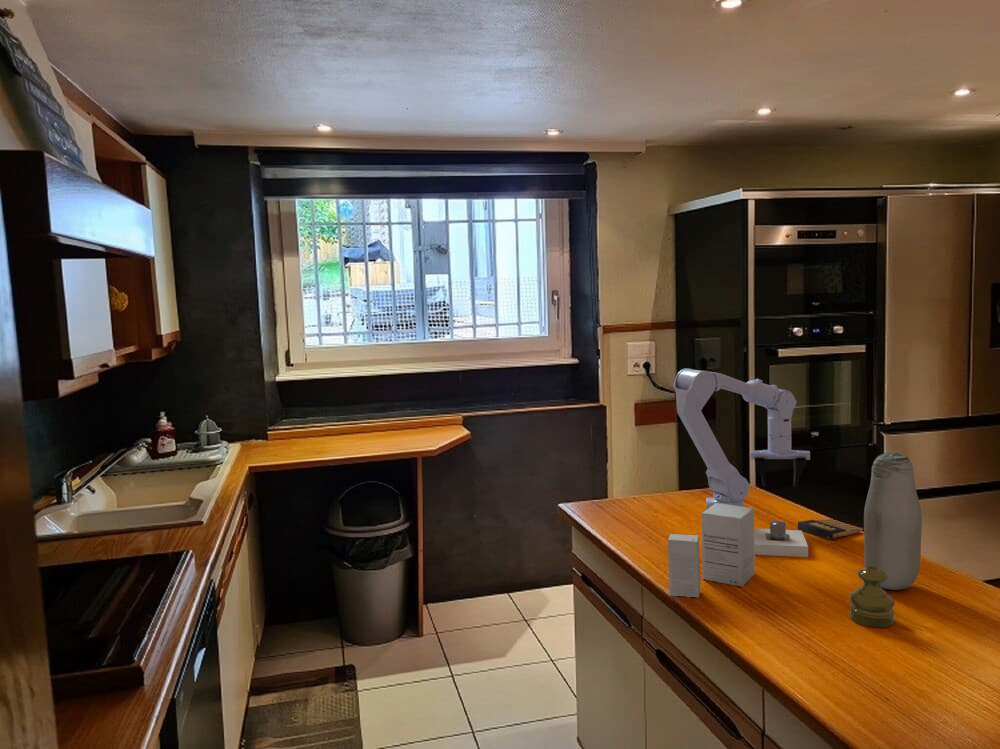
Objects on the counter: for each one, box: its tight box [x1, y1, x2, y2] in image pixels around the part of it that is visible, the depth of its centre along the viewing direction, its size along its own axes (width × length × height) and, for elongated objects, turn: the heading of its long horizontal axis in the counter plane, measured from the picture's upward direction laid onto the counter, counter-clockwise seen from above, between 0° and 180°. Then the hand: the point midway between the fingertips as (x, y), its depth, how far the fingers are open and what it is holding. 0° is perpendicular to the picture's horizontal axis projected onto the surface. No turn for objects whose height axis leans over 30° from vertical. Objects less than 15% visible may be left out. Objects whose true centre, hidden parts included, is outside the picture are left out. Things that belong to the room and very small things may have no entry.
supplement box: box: [700, 503, 756, 588], centre depth 163 cm, size 9×9×15 cm
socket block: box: [754, 528, 809, 558], centre depth 181 cm, size 12×12×2 cm
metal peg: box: [769, 520, 787, 541], centre depth 180 cm, size 4×4×6 cm
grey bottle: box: [863, 452, 923, 591], centre depth 153 cm, size 10×10×28 cm
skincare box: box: [667, 533, 701, 599], centre depth 155 cm, size 6×4×12 cm
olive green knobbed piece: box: [849, 567, 895, 629], centre depth 139 cm, size 7×7×10 cm
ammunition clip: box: [797, 518, 864, 541], centre depth 191 cm, size 11×2×12 cm
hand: (779, 486), depth 196 cm, fingers open, 7 cm apart
